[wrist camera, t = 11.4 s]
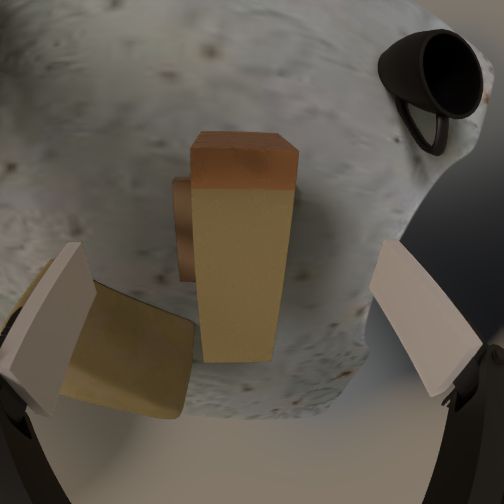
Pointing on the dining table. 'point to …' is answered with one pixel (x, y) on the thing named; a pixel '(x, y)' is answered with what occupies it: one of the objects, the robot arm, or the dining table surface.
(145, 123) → the dining table surface
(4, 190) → the dining table surface
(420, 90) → the mug
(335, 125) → the dining table surface
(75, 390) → the cheese
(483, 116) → the dining table surface
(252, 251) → the two-tone wooden block
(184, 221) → the wooden base plate
